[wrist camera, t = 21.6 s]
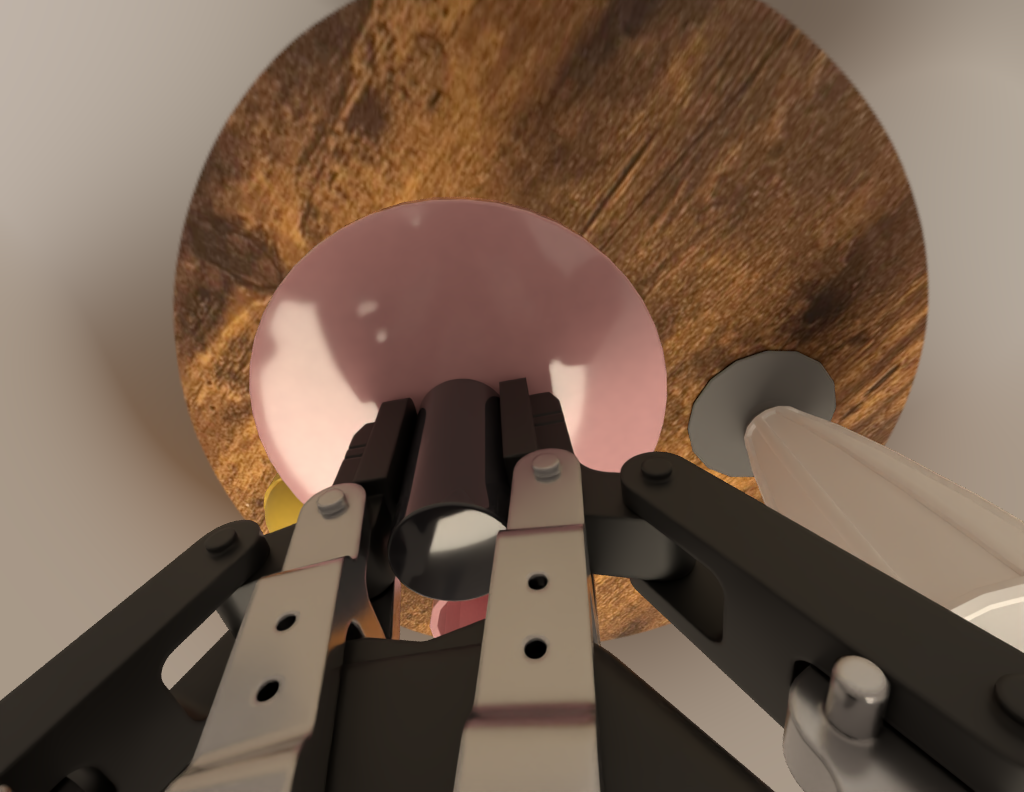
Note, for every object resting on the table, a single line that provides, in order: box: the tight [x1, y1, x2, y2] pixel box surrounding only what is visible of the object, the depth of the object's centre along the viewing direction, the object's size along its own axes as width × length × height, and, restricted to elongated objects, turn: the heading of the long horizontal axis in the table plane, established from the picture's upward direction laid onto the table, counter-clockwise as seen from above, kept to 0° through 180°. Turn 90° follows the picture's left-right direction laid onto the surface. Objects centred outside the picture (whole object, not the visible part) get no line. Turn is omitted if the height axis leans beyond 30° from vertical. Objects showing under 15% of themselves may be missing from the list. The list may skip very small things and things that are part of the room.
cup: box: [688, 351, 1024, 653], centre depth 30 cm, size 12×12×22 cm
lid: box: [249, 197, 667, 601], centre depth 12 cm, size 11×11×6 cm
